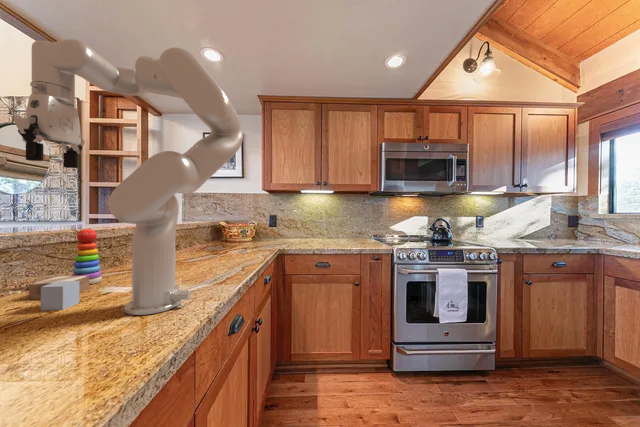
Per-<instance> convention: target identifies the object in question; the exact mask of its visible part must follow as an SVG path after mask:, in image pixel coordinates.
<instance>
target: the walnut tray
mask: <svg viewBox="0 0 640 427" xmlns="http://www.w3.org/2000/svg"><path fill="white" fill-rule="evenodd" d="M59 281H79V293H82V292H84V290H85V291H86V290H89V289H90V285H89V276H72V275H67V276H63V275H57V276H56V277H52V278H48V279H45V280H41V281H37V282H34V283H33V282H32V283H31V284H29V285H28V300H41V287H42V286H45V285H49V284H52V283H55V282H59Z"/></svg>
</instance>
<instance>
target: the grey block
mask: <svg viewBox="0 0 640 427" xmlns="http://www.w3.org/2000/svg"><path fill="white" fill-rule="evenodd" d="M79 303H80V292H79V281H59V282H55V283H52V284H49V285H45V286H42V287H41V299H40V311H42V312H43V311H63V310H66V309H68V308H70V307H73V306H76V305H77V304H79Z"/></svg>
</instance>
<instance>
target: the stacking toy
mask: <svg viewBox="0 0 640 427" xmlns="http://www.w3.org/2000/svg"><path fill="white" fill-rule="evenodd" d="M97 234H98V233H97V232H96V231H95V230H94V229H91V228H85V229H82V230H80V231H78V233H77V235H76V239H77V241H78V242H79V243H77V246H76V248H77V251H76V256H75V257H74V263H73V269H72V273H73V274H72V275H71V276H89V286H91V285H90V284H92V285H95V283H96V284H98V283H100V282H102V280H103V276H101V275H103V274H102V273H103V272H102V271H101V266H100V265H99V264H100V260H99V254H98V253H99V250H98V249H97V246H98V244H97V243H96V242H95V241H96V240H97V238H98V235H97Z"/></svg>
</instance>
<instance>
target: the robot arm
mask: <svg viewBox="0 0 640 427" xmlns="http://www.w3.org/2000/svg"><path fill="white" fill-rule="evenodd" d="M76 76H78V77H79V78H82V79H84V80H85V81H86V82H88V83H90V84H91V85H93V86H94V87H96V88H97V89H100V90H102V91H105V92H108V93H114V94H118V95H119V94H120V95H125V96H141V95H145V94H148V93H150V94H156V95H163V96H167V97H168V96H169V97H172V98H177V99H178V98H179V99H183V101H184V102H185V103H186V104H187V105H188V107H189V108H190V109H191V110H192V112H193V113H194V114H195V115H196V116H197V117H198V118H199V119H200V121H202V122H203V124H205V126H207V127H208V128H209V129H210V133H209V134H208V135H206V136H205V137H202V138H201V139H200V140H198V141H197V142H195V143H194V145H193V146H192V147H190V148H189V149H188V150H186V152H184V153H180V152H178V151H174V150H164V151H160V152H157V153H155V154H153V155H152V156H150V157H149V158H147V159H146V160H145V161H144V162H143V163H142V164H140V165H139V166H138V167H137V168H136V169H135V170H134V171H133V172H131V173H130V174H129V175H128V176H127V177H126V178H124V180H122V181H121V182H120V183H119V184H118V185H117V186H115V188H114V190H113V191H112V192H111V194H110V196H109V199H108V209H109V211H110V213H111V215H112V216H113V217H114V219H116V220H118V221H119V222H122V223H125V224H131V225H135V227H134V229H133V235H132V243H131V244H132V245H131V246H132V248H131V250H132V251H131V255H132V258H131V261H132V262H131V264H132V265H131V267H132V268H131V273H132V274H131V275H132V276H131V278H132V279H131V280H132V281H131V288H132V289H131V298H132V299H131V301H129V302H127V303H126V304H125V305H124V307H123V308H124V313H126V314H127V315H131V316H132V315H133V316H134V315H135V316H144V315H145V316H146V315H152V314H153V315H154V314H158V313H163V312H165V311H168V310H173V309H175V308H176V307H179V306H180V305H181V304H182V300H183V301H184V300H185V301H186V300H190V299H191V295H192V294H191V291H190V289H189V290H188V289H187V290H186V289H184V290H181V289H180V285H177V284H176V239H177V238H176V237H177V236H176V235H177V223H178V218H179V211H180V210H179V208H180V206H179V201H178V198H177V197H176V195H175V194H192V193H194V192H196V191H198V190H199V189H200V188H201V187H202V186H203V185H204V184H206V182H208V180H209V179H211V177H213V176H214V175H215V174H216V173H217V172H218V171H219V170H220V169H221V168H222V167H223V166H224V165H225V164H226V163H227V162H228V161H230V160H231V158H233V157H234V156H235V154H236V153H238V151H239V149H240V148H241V146H242V144H243V139H244V131H243V130H244V129H243V125H242V122H241V120H240V116H239V115H238V112H237V111H236V109H235V107H234V106H233V104H232V102H231V100H230V99H229V97H228V96H227V94H226V93H225V92H224V91H223V89H222V88H221V87H220V85H219V84H218V83H217V82H216V81H215V79H213V77H212V76H211V74H209V72H208V71H207V70H206V69H205V68H204V66H203V65H202V64H201V62H200V61H199V60H198V59H197V58H196V56H195V55H194V54H192V53H191V52H190V51H188V50H187V49H184V48H183V47H182V48H181V47H170V48H168V49H165V50H163V52H162V53H161V54H160V56H159V58H157V57H152V56H147V55H142V56H139V57H138V58H137V59H136V60H135V64H134V69H131V68H126V67H121V66H116V65H114V64H111V62H110V61H108V60H107V59H106V58H105V57H103V56H102V55H101V54H99V53H98V52H97V51H96V50H95V49H93V47H91V46H89V45H88V44H87V43H85V42H83V41H81V40H78V39H72V38H71V39H70V38H69V39H65V40H60V41H59V40H58V41H53V42H52V41H48V40H35V41H34V42H33V43H32V44H31V82H30V83H29V85H30V87H31V94H29V97H28V101H27V107H26V112H25V113H26V114H25V115H26V116H25V117H19V118H14V119H13V122H14V124H15V126H16V128H17V129H18V130H17V132H18V134H19V135H20V136H21V137H22V141H23V142H24V143H25V160H26V161H29V162H30V161H32V162H33V161H34V162H43V161H44V143H41V142H43V141H46V142H50V143H54V144H57V145H61V147H62V148H63V149H64V151H65V152H63V162H62V163H63V168H65V169H78V168H79V154H81V151H82V150H83V147H84V144H85V140H84V139H83V138H82V137H81V136H82V134H81V123H80V122H81V121H80V118H79V117H80V116H79V112H78V110H77V108H76V106H75V105H76V93H75V92H76V87H75V86H76Z"/></svg>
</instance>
